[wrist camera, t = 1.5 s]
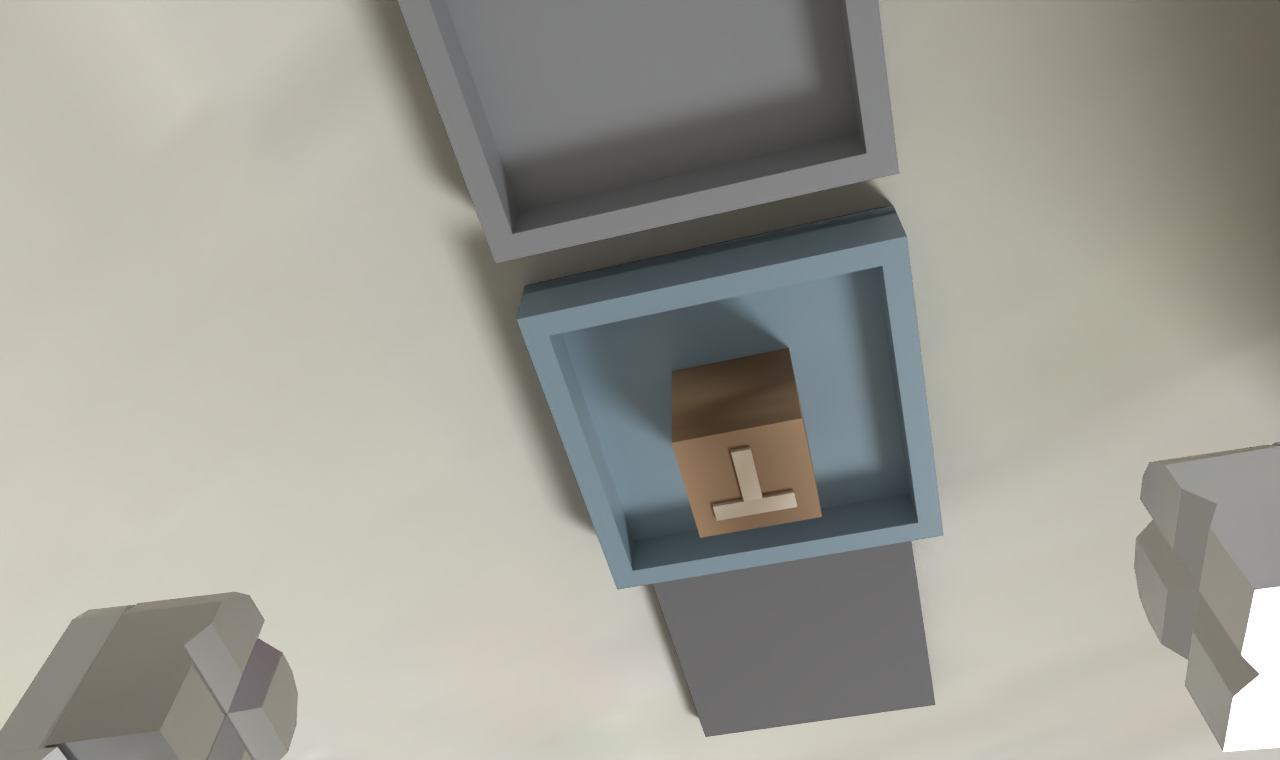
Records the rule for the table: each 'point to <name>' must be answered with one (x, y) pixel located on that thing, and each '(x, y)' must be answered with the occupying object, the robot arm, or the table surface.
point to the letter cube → (743, 444)
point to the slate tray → (727, 329)
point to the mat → (801, 639)
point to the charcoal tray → (650, 108)
